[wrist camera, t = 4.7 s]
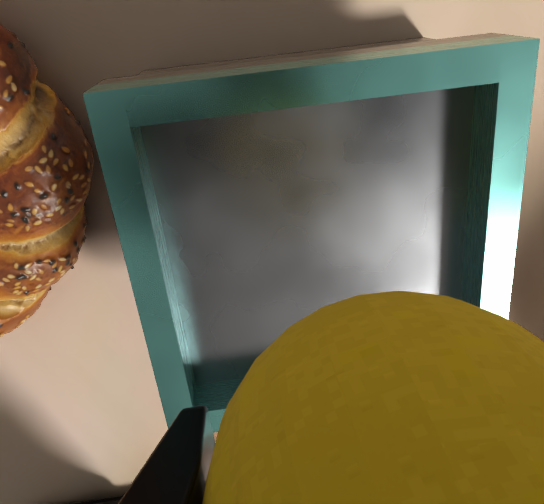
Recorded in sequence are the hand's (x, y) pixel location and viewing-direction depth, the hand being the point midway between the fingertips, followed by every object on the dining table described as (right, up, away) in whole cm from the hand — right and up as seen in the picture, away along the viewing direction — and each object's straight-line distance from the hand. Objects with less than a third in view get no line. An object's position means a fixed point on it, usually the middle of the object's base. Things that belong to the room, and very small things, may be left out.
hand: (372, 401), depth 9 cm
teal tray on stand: (-1, +5, +10) cm, 11 cm away
